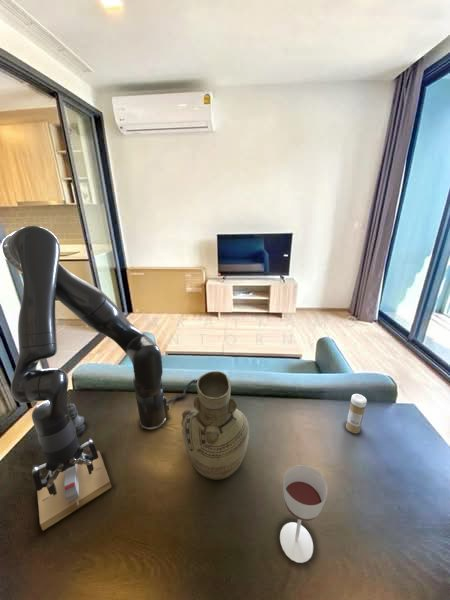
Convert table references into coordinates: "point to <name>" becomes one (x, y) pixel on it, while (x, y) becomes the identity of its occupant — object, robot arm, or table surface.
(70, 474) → the white rectangular block
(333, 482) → the table surface
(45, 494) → the base
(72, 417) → the grey stone statuette
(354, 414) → the sprinkles bottle
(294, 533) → the wineglass
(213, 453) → the ceramic vessel
